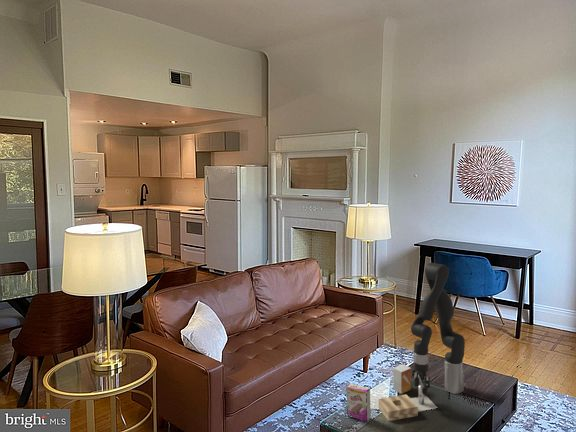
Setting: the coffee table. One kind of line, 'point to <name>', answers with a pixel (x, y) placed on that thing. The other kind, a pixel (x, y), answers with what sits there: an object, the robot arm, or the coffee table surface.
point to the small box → (402, 378)
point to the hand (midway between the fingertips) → (420, 389)
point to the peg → (420, 394)
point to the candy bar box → (358, 402)
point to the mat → (427, 404)
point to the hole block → (398, 407)
